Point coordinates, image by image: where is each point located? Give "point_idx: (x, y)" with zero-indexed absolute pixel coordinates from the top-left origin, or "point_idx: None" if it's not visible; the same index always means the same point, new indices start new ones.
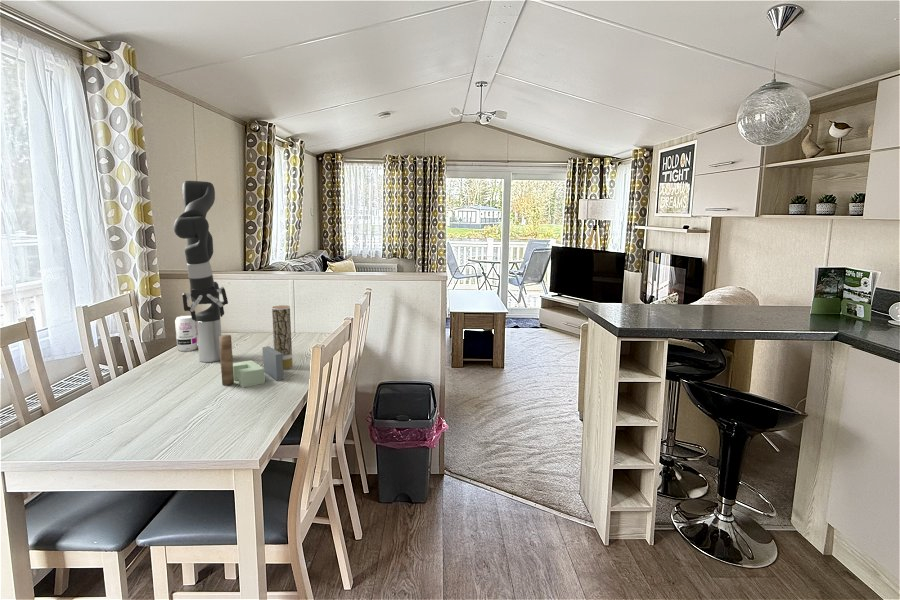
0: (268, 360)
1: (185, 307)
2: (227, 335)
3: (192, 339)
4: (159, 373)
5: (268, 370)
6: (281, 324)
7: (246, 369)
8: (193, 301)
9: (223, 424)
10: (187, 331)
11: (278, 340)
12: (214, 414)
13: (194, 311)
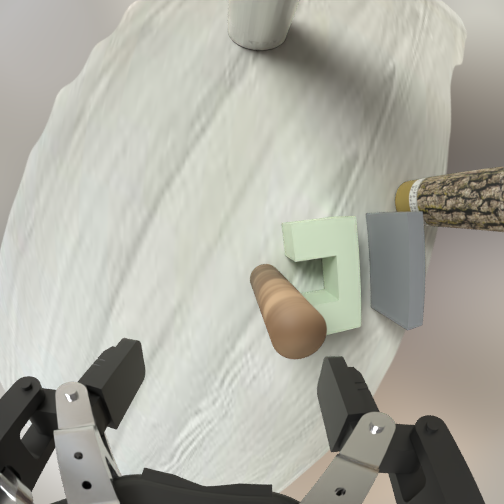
0: (391, 261)
1: (42, 442)
2: (313, 323)
3: None
4: (121, 94)
5: (375, 252)
6: (499, 230)
7: (321, 313)
8: (60, 448)
9: (223, 468)
10: None
11: (453, 220)
12: (213, 438)
13: (111, 424)
